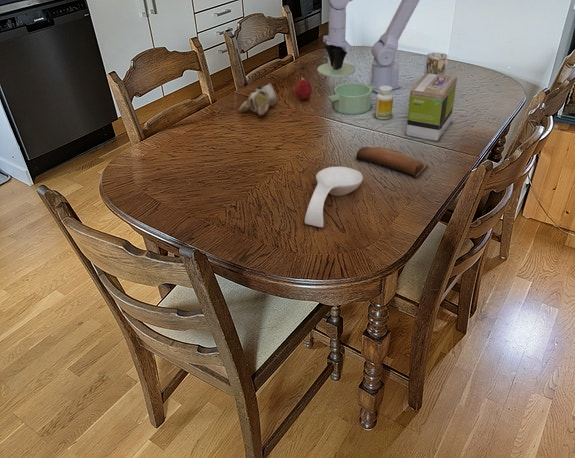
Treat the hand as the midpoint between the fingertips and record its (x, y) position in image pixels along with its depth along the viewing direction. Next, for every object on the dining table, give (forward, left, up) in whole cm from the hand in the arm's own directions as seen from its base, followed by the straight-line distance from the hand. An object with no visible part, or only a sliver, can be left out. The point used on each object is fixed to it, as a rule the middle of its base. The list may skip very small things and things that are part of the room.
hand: (336, 67), depth 176 cm
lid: (0, 0, -1) cm, 1 cm away
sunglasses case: (+16, +53, -9) cm, 56 cm away
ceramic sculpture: (+31, +1, -9) cm, 32 cm away
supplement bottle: (-1, +27, -9) cm, 28 cm away
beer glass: (-23, +25, -9) cm, 35 cm away
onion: (+14, +1, -9) cm, 17 cm away
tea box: (-7, +42, -9) cm, 43 cm away
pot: (+3, +15, -9) cm, 17 cm away
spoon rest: (+40, +60, -9) cm, 72 cm away
